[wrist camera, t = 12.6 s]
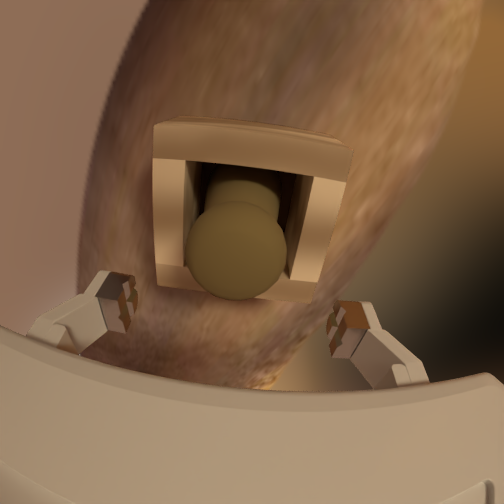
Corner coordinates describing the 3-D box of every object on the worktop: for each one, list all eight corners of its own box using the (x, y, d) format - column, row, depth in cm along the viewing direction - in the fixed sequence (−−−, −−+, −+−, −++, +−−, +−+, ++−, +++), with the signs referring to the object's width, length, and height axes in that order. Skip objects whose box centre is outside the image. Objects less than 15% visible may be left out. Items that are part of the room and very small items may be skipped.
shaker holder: (180, 115, 19) (153, 125, 14) (329, 134, 20) (353, 150, 15) (176, 243, 25) (157, 285, 20) (300, 259, 26) (310, 303, 21)
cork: (214, 228, 24) (188, 321, 15) (200, 160, 21) (153, 221, 12) (285, 220, 24) (300, 312, 14) (277, 149, 21) (295, 203, 11)
